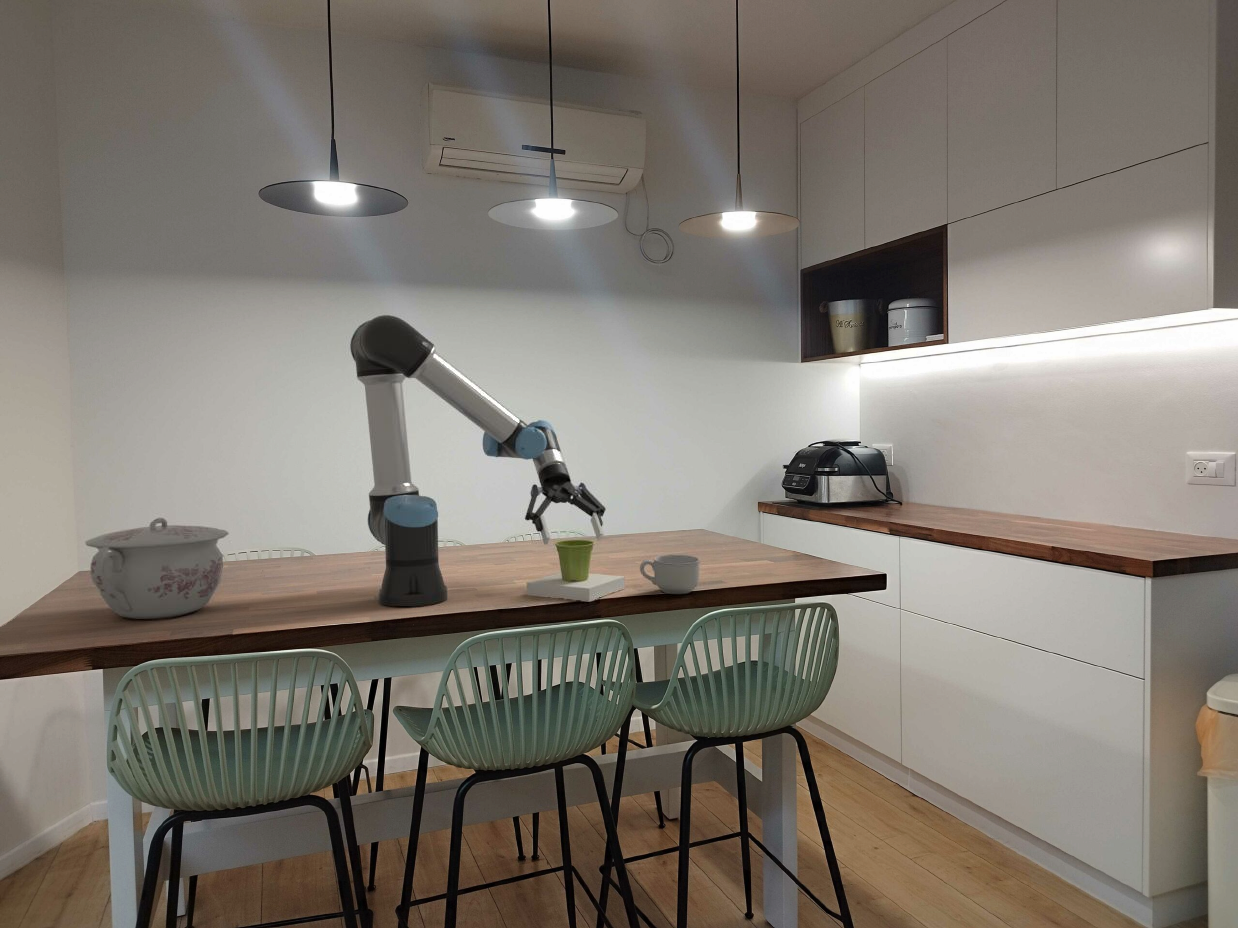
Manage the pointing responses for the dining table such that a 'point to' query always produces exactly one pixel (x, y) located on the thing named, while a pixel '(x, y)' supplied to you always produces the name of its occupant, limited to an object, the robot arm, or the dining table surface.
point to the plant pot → (574, 559)
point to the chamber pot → (157, 569)
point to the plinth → (575, 587)
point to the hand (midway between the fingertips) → (574, 539)
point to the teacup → (674, 573)
